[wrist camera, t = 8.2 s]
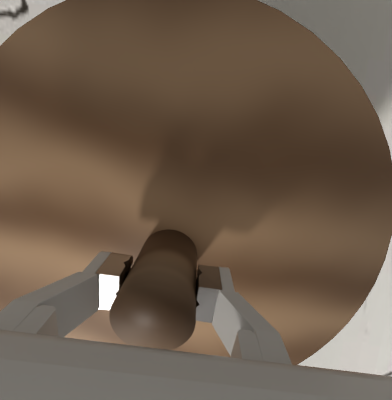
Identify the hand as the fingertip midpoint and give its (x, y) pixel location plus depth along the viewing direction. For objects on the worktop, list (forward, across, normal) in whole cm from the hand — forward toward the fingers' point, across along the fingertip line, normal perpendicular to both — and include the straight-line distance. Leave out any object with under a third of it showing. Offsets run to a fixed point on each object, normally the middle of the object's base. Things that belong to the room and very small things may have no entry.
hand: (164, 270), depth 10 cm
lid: (+3, 0, 0) cm, 3 cm away
